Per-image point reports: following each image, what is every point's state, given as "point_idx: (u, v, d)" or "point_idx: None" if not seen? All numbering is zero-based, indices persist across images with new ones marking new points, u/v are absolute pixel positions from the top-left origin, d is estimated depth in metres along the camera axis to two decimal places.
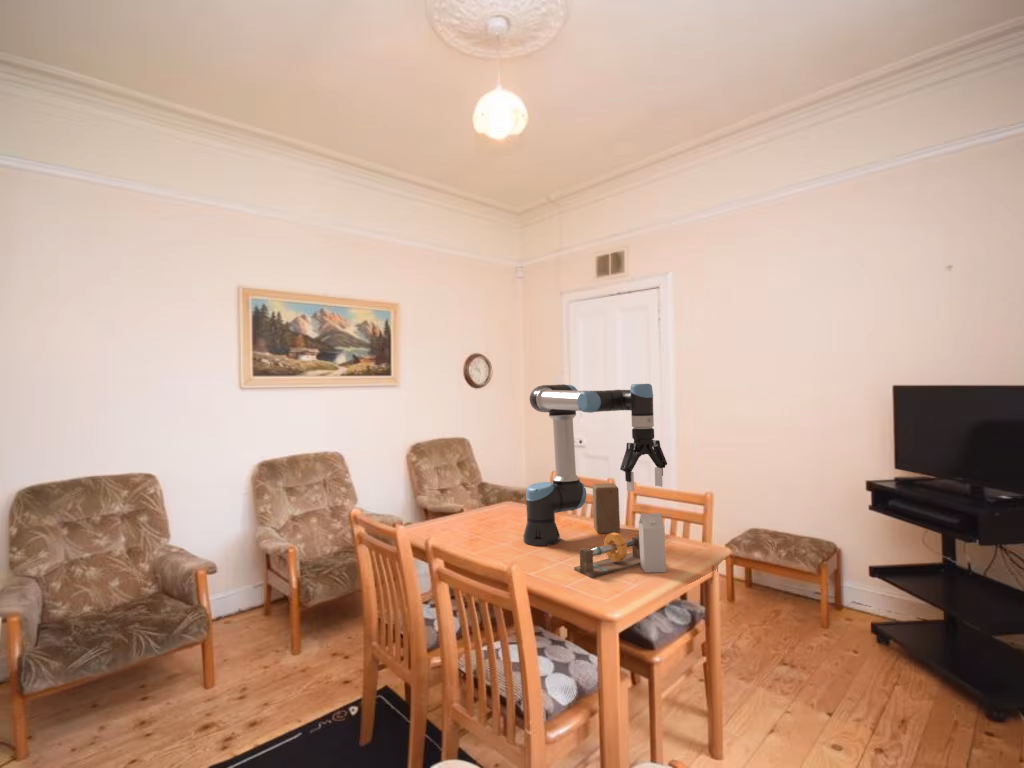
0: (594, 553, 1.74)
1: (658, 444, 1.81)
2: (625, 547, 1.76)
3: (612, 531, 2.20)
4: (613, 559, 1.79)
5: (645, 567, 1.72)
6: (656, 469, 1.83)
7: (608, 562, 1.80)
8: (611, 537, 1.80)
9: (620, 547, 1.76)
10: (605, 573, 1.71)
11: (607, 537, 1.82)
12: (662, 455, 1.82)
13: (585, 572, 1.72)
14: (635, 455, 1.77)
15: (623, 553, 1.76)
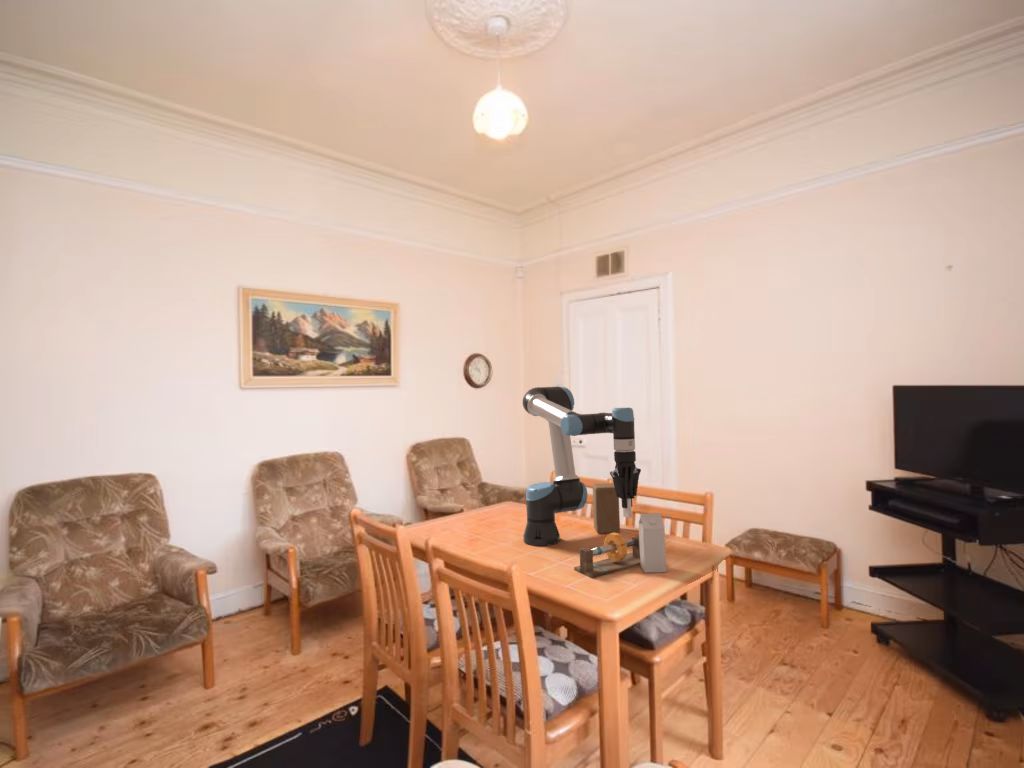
0: (594, 553, 1.74)
1: (638, 472, 1.85)
2: (625, 547, 1.76)
3: (612, 531, 2.20)
4: (613, 559, 1.79)
5: (645, 567, 1.72)
6: None
7: (608, 562, 1.80)
8: (611, 537, 1.80)
9: (620, 547, 1.76)
10: (605, 573, 1.71)
11: (607, 537, 1.82)
12: (636, 484, 1.84)
13: (585, 572, 1.72)
14: (623, 481, 1.82)
15: (623, 553, 1.76)
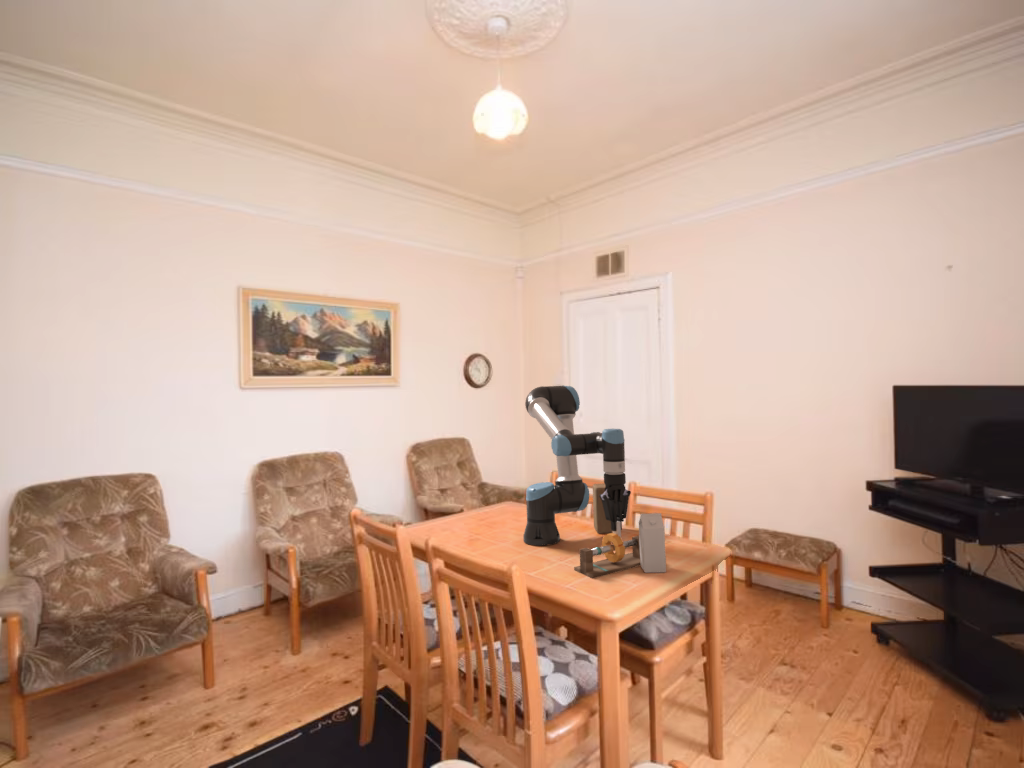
0: (594, 553, 1.74)
1: (628, 494, 1.82)
2: (623, 548, 1.76)
3: None
4: (611, 560, 1.79)
5: (645, 567, 1.72)
6: None
7: (608, 562, 1.80)
8: (609, 538, 1.79)
9: (618, 548, 1.76)
10: (605, 573, 1.71)
11: (605, 537, 1.81)
12: (626, 506, 1.82)
13: (585, 572, 1.72)
14: (612, 503, 1.79)
15: (621, 554, 1.75)
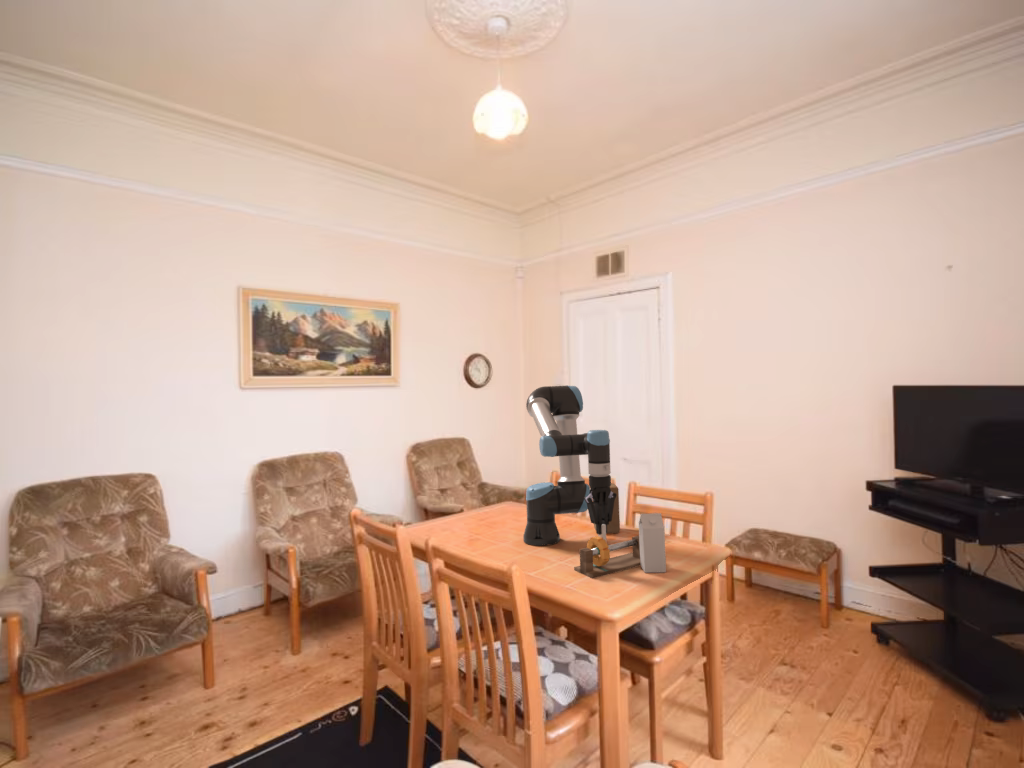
0: (594, 553, 1.74)
1: (613, 496, 1.79)
2: (608, 551, 1.72)
3: (612, 531, 2.20)
4: (596, 563, 1.75)
5: (645, 567, 1.72)
6: None
7: (608, 562, 1.80)
8: (594, 541, 1.76)
9: (603, 551, 1.72)
10: (605, 573, 1.71)
11: (590, 541, 1.78)
12: (611, 509, 1.78)
13: (585, 572, 1.72)
14: (597, 506, 1.76)
15: (606, 557, 1.72)
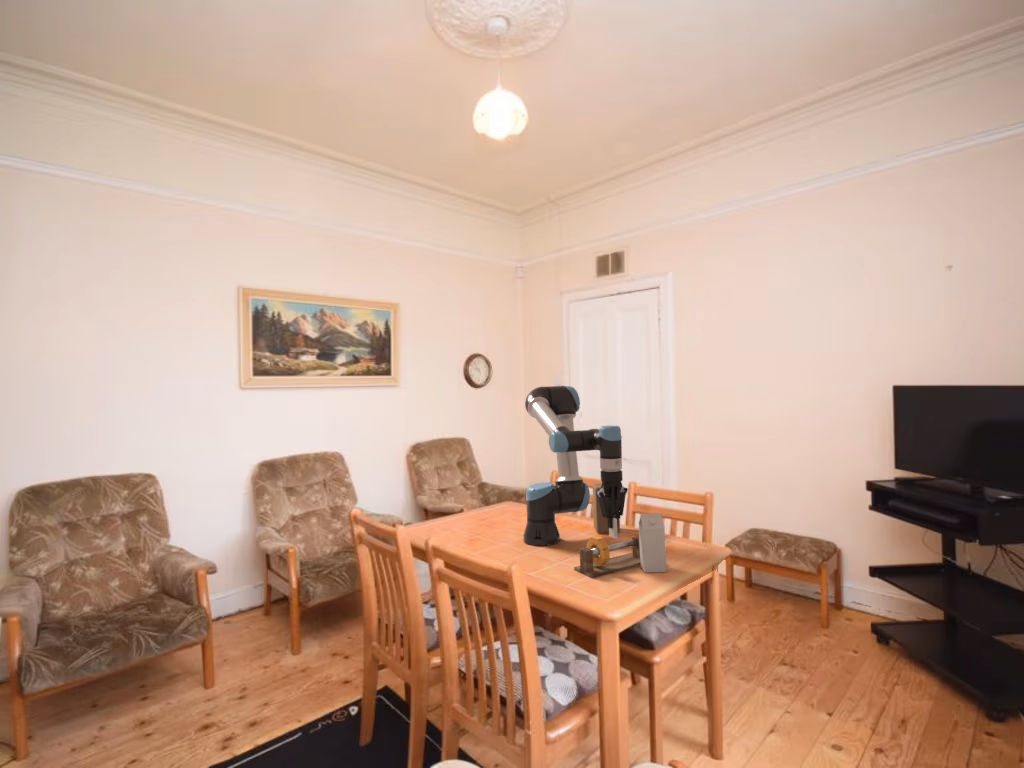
0: (594, 553, 1.74)
1: (625, 491, 1.82)
2: (607, 551, 1.72)
3: None
4: (595, 563, 1.75)
5: (645, 567, 1.72)
6: None
7: (608, 562, 1.80)
8: (594, 541, 1.76)
9: (602, 551, 1.72)
10: (605, 573, 1.71)
11: (590, 541, 1.78)
12: (622, 504, 1.81)
13: (585, 572, 1.72)
14: (609, 501, 1.79)
15: (605, 557, 1.72)
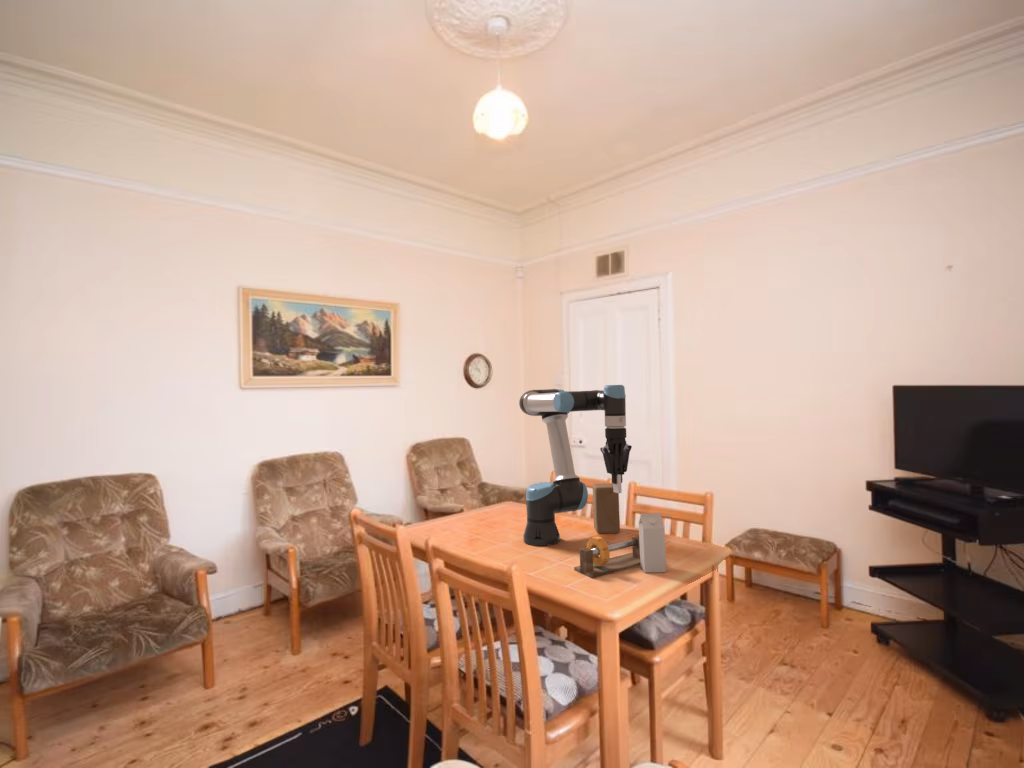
0: (594, 553, 1.74)
1: (629, 448, 1.87)
2: (607, 551, 1.72)
3: (612, 531, 2.20)
4: (595, 563, 1.75)
5: (645, 567, 1.72)
6: None
7: (608, 562, 1.80)
8: (594, 541, 1.76)
9: (602, 551, 1.72)
10: (605, 573, 1.71)
11: (590, 541, 1.78)
12: (626, 460, 1.86)
13: (585, 572, 1.72)
14: (613, 457, 1.84)
15: (605, 557, 1.72)
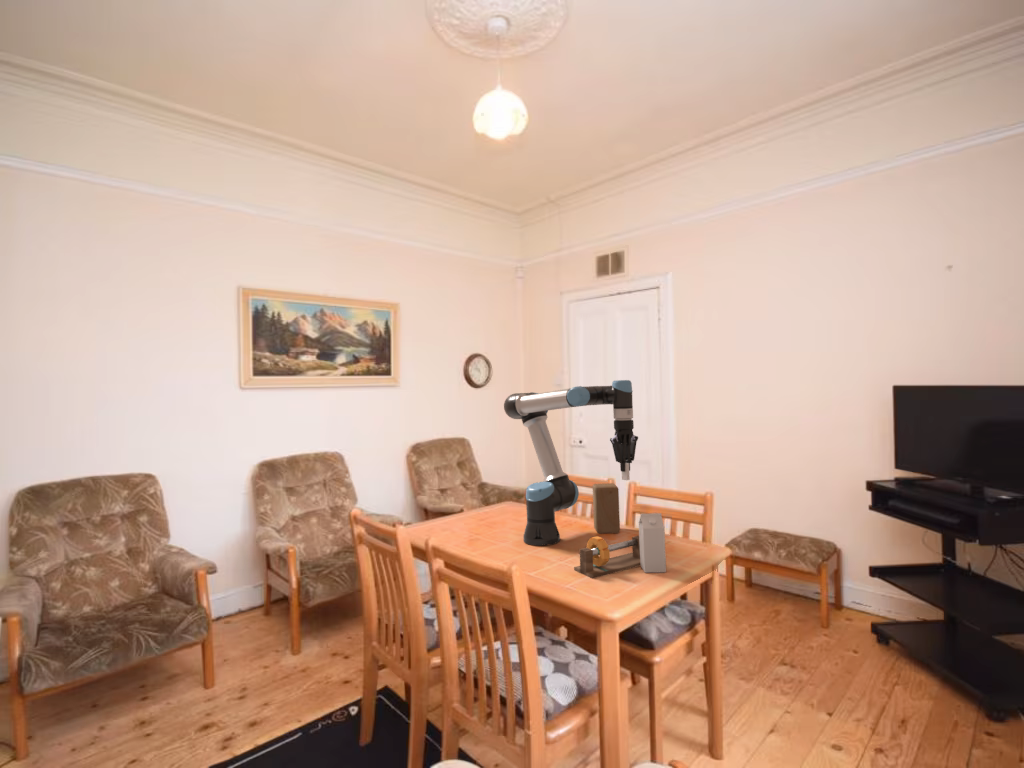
0: (594, 553, 1.74)
1: (635, 439, 2.03)
2: (607, 551, 1.72)
3: (612, 531, 2.20)
4: (595, 563, 1.75)
5: (645, 567, 1.72)
6: None
7: (608, 562, 1.80)
8: (594, 541, 1.76)
9: (602, 551, 1.72)
10: (605, 573, 1.71)
11: (590, 541, 1.78)
12: (634, 450, 2.02)
13: (585, 572, 1.72)
14: (621, 447, 2.00)
15: (605, 557, 1.72)
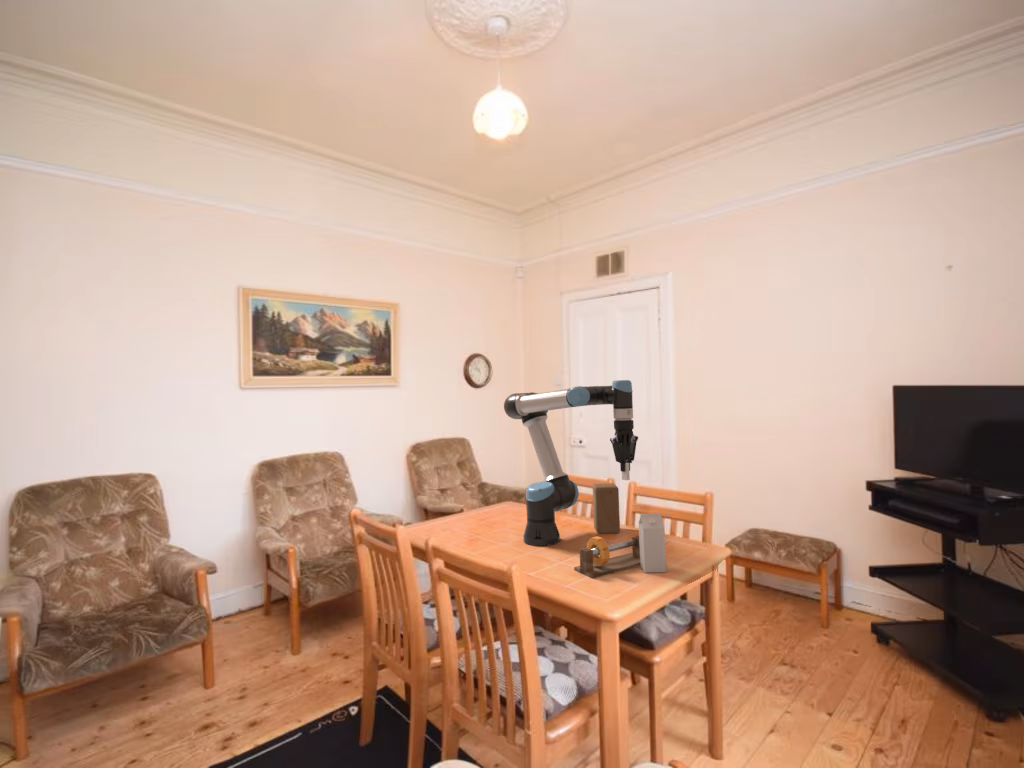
0: (594, 553, 1.74)
1: (635, 439, 2.03)
2: (607, 551, 1.72)
3: (612, 531, 2.20)
4: (595, 563, 1.75)
5: (645, 567, 1.72)
6: None
7: (608, 562, 1.80)
8: (594, 541, 1.76)
9: (602, 551, 1.72)
10: (605, 573, 1.71)
11: (590, 541, 1.78)
12: (634, 450, 2.02)
13: (585, 572, 1.72)
14: (621, 447, 2.00)
15: (605, 557, 1.72)
